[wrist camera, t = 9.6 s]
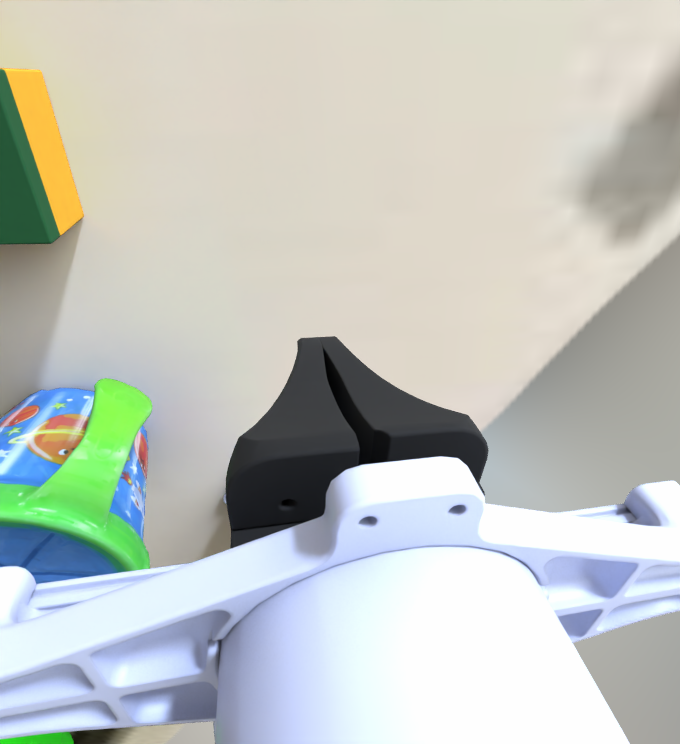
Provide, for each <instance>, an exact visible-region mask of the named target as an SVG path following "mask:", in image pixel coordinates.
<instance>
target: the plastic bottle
mask: <svg viewBox="0 0 680 744" xmlns="http://www.w3.org/2000/svg"><path fill="white" fill-rule="evenodd" d="M0 744H74V742H73V739H72V737H71V735H70V733H69V732H59V733H48V734H39V735H31V736H23V737H16V738H8V739H1V740H0Z"/></svg>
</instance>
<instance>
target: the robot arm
mask: <svg viewBox="0 0 680 744" xmlns="http://www.w3.org/2000/svg"><path fill="white" fill-rule="evenodd" d="M297 342H298V352H297V357H296V360H295V364H294V367H293V370H292V372H291V374H290V377H289V379H288V381H287V383H286V385H285V387H284V389H283V391H282V392H281V394H280V396H279V397H278V399H277V400H276V401H275V403H274V404H273V406H272V407H271V408H270V409H269V411H268V412H267V413H266V414H265V415H264V416H263V417H262V418H261V419H260V420H259V421H258V422H257V423H256V424H255V425H254V426H253V427H252V428H251V429H249V430H248V431H247V432H246V433H244V434H243V435H242V436H240V437H239V438H238V441H237V443H236V446H235V448H234V451H233V453H232V456H231V459H230V463H229V467H228V471H227V476H226V493H225V495H224V497H223V501H224V503H226V504H227V509H228V515H229V520H230V526H231V549H229V550H226V551H223V552H220V553H217V554H214V555H212V556H209V557H206V558H203V559H200V560H198V561H195V562H192V563H186V564H179V565H172V566H164V567H157V568H150V569H142V570H135V571H128V572H120V573H113V574H106V575H99V576H91V577H84V578H77V579H69V580H62V581H55V582H47V583H40V584H36V582H35V579H34V577H33V576H32V574H31V573H30V572H29V571H28V570H26V569H25V568H22V567H18V566H5V567H0V740H1V739H8V738H16V737H23V736H31V735H39V734H48V733H59V732H70V731H81V730H95V729H109V728H124V727H138V726H153V725H167V724H181V723H195V722H208V721H209V722H210V721H213V725H214V737H215V744H630V743H629V742H628V740H627V738H626V736H625V735H624V733H623V731H622V729H621V728H620V726H619V724H618V722H617V720H616V719H615V717H614V715H613V714H612V712H611V710H610V708H609V707H608V705H607V703H606V701H605V699H604V698H603V696H602V695H601V692H600V691H599V689H598V687H597V685H596V684H595V682H594V680H593V678H592V677H591V675H590V673H589V672H588V670H587V668H586V666H585V665H584V663H583V661H582V659H581V657H580V656H579V654H578V652H577V650H576V649H575V647H574V645H573V643H574V642H577V641H580V640H583V639H586V638H589V637H592V636H595V635H598V634H601V633H604V632H607V631H610V630H613V629H616V628H620V627H623V626H626V625H629V624H632V623H636V622H639V621H642V620H645V619H649V618H653V617H656V616H660V615H664V614H668V613H672V612H677V611H680V485H678V484H677V483H676V482H675V481H663V482H655V483H647V484H642V485H639V486H637V487H635V488H633V489H632V490H631V491H630V492H629V494H628V495H627V497H626V499H625V502H624V504H617V505H610V506H603V507H596V508H588V509H582V510H574V511H566V512H559V513H550V512H542V511H536V510H528V509H521V508H514V507H506V506H499V505H492V504H485V497H484V496H485V494H484V491H483V489H482V487H481V485H480V483H479V482H480V479H481V476H482V473H483V469H484V466H485V463H486V461H487V456H488V446H487V442H486V440H485V439H484V437H483V436H482V434H481V433H480V431H479V429H478V428H477V426H476V425H475V424H474V422H473V421H472V420H471V419H470V417H469V416H468V415H466V414H462V413H459V412H455V411H451V410H448V409H444V408H441V407H438V406H436V405H433V404H430V403H428V402H425V401H423V400H421V399H418V398H416V397H414V396H412V395H410V394H408V393H406V392H404V391H402V390H400V389H398V388H397V387H395V386H393V385H392V384H390V383H389V382H387V381H385V380H384V379H382V378H381V377H380V376H378V375H377V374H376V373H374V372H373V371H372V370H370V369H369V368H368V367H367V366H366V365H364V364H363V363H362V362H361V361H360V360H359V359H358V358H357V357H356V356H354V355H353V354H352V353H351V352H350V351H349V350H348V349H347V348H346V347H345V346H344V345H343V344H342V342H341V341H340V340H339V339H337V338H336V337H335V336H333V337H315V338H301V339H299V340H298V341H297Z"/></svg>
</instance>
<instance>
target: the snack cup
mask: <svg viewBox="0 0 680 744" xmlns="http://www.w3.org/2000/svg"><path fill="white" fill-rule="evenodd" d="M94 388H95V392H92V391H87V390H81V389H73V388H58V389H54V390H49V391H46V390H40V391H38V392H36V393H34V394H31V395H30V396H29V397H27V398H26V399H25V400H23V401H22V402H21V403H19V404H18V405H16V406H15V407H13V408H12V409H11V410H10V411H9V412H8V413H6V414H5V415H4V416H3V417H2V418H1V419H0V567H5V566H18V567H22V568H25V569H26V570H28V571H29V572H30V573H31V574H32V576H33V577H34V579H35V582H36V584H40V583H47V582H55V581H62V580H69V579H77V578H84V577H91V576H99V575H106V574H113V573H120V572H128V571H135V570H142V569H150V560H149V554H148V551H147V550H146V547H145V545H144V543H143V531H144V515H145V497H146V478H147V462H148V440H147V433H146V430H145V429H144V427H143V424H144V422H145V421H146V419H147V418H148V417H149V416H150V414H151V411H152V403H151V400H150V399H149V398H148V397H147V396H146V395H145V394H143V393H142V392H141V391H139V390H138V389H136V388H135V387H131V386H129V385H127V384H125V383H123V382H120V381H117V380H113V379H107V378H105V379H100V380H99V381H98V382H97V383H96V384H95V386H94Z"/></svg>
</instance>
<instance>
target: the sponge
mask: <svg viewBox="0 0 680 744" xmlns="http://www.w3.org/2000/svg"><path fill="white" fill-rule="evenodd" d="M83 217H84V214H83V211H82V207H81V204H80V201H79V197H78V194H77V190H76V187H75V184H74V180H73V177H72V173H71V170H70V167H69V163H68V160H67V157H66V153H65V150H64V146H63V143H62V140H61V136H60V133H59V129H58V126H57V123H56V119H55V116H54V113H53V109H52V106H51V102H50V99H49V96H48V92H47V89H46V85H45V82H44V79H43V75H42V72H41V71H40V70H29V69H8V68H0V244H51V243H53V242H54V241H55V240H56V239H57V238H59V237H60V236H61V235H62V234H64V233H65V232H66V231H67V230H68V229H70V228H71V227H72V226H73V225H74V224H75V223H77V222H78V221H79V220H80V219H81V218H83Z"/></svg>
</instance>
